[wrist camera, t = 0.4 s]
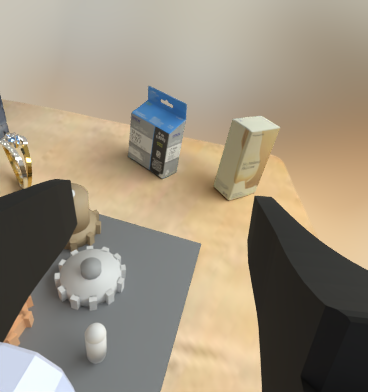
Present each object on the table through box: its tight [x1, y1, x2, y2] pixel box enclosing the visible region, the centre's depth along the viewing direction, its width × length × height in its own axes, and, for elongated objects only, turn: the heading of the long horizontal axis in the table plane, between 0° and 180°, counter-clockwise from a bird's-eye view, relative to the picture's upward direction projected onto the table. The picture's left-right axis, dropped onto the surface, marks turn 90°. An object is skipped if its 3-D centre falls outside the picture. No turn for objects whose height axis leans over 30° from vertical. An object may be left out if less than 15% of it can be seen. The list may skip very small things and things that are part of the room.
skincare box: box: [214, 116, 280, 200], centre depth 47 cm, size 6×4×12 cm
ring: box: [0, 132, 32, 189], centre depth 41 cm, size 7×3×8 cm, turn 37°
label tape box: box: [128, 86, 187, 179], centre depth 49 cm, size 9×4×12 cm, turn 49°
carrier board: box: [18, 183, 201, 392], centre depth 29 cm, size 21×20×7 cm
